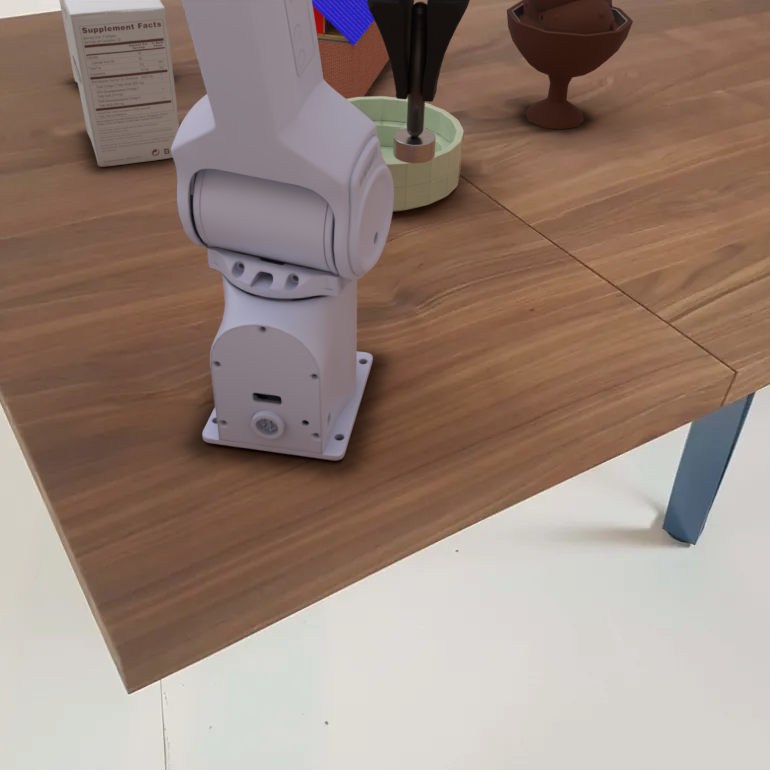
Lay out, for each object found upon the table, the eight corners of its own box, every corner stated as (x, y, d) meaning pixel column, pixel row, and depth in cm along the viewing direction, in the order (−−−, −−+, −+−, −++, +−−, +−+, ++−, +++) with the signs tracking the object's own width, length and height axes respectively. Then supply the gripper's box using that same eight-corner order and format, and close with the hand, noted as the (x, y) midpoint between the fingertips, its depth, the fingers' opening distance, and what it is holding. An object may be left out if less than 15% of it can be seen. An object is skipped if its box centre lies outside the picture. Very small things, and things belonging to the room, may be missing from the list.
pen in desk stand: (431, 165, 65) (440, 10, 58) (389, 161, 65) (394, 6, 58) (437, 147, 67) (446, -4, 60) (396, 143, 67) (402, -7, 61)
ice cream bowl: (613, 146, 82) (647, -31, 73) (489, 133, 84) (507, -42, 75) (614, 102, 91) (644, -62, 81) (501, 91, 92) (519, -72, 83)
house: (233, 102, 88) (222, -27, 81) (296, 36, 103) (292, -77, 96) (353, 116, 86) (354, -14, 79) (400, 47, 101) (404, -68, 94)
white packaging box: (86, 134, 81) (57, -15, 74) (169, 124, 84) (150, -22, 76) (96, 169, 76) (67, 13, 68) (185, 158, 78) (166, 4, 70)
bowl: (449, 226, 70) (453, 172, 68) (282, 208, 72) (279, 154, 69) (466, 153, 80) (470, 104, 78) (319, 139, 82) (319, 90, 79)
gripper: (552, -132, 57) (525, 83, 65) (324, -146, 59) (327, 65, 67) (547, -109, 51) (518, 122, 60) (296, -125, 53) (303, 101, 62)
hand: (416, 95), depth 63 cm, fingers closed on pen in desk stand
